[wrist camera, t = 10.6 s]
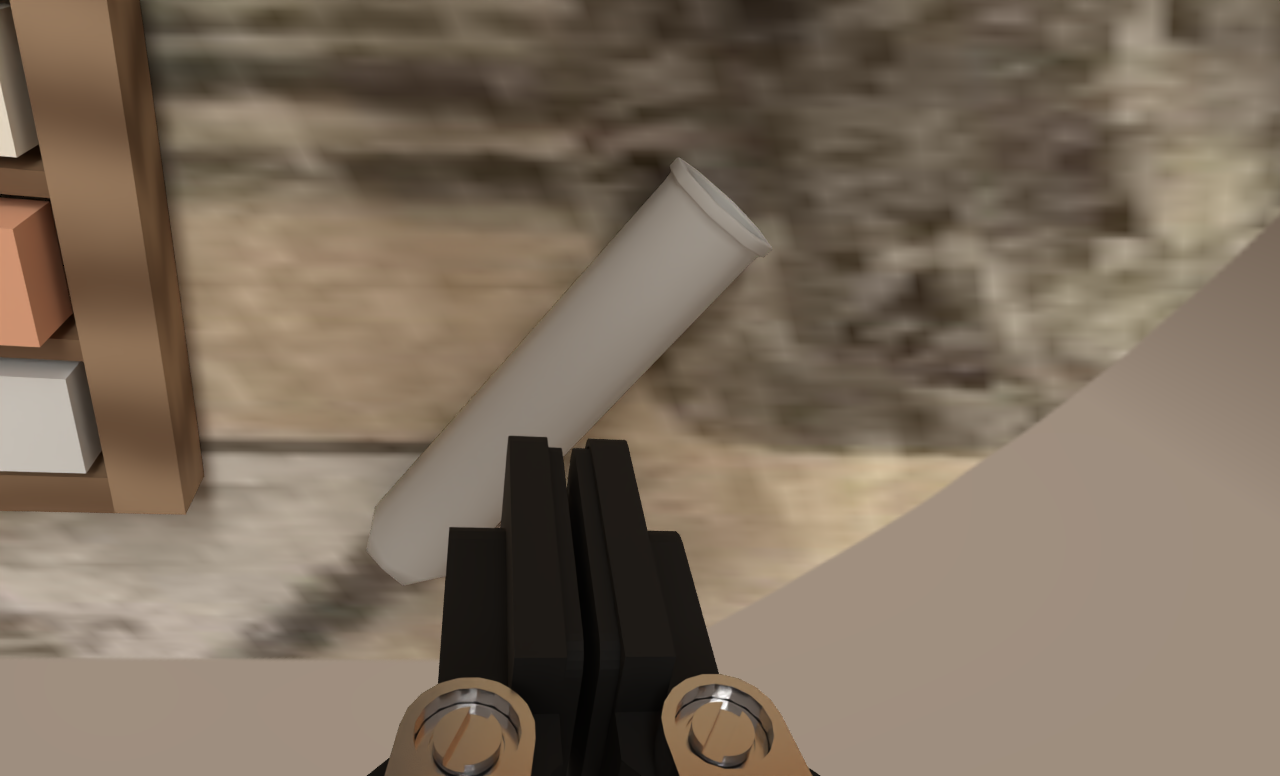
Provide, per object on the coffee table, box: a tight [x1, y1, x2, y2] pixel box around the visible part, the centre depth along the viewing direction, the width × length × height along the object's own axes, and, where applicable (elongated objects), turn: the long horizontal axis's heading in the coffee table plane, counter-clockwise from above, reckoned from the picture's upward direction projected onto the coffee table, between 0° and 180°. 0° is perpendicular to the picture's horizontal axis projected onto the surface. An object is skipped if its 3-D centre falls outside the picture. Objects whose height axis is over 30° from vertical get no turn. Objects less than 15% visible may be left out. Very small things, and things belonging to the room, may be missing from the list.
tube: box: [366, 157, 772, 586], centre depth 40 cm, size 5×5×25 cm
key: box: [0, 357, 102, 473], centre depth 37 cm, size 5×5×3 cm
